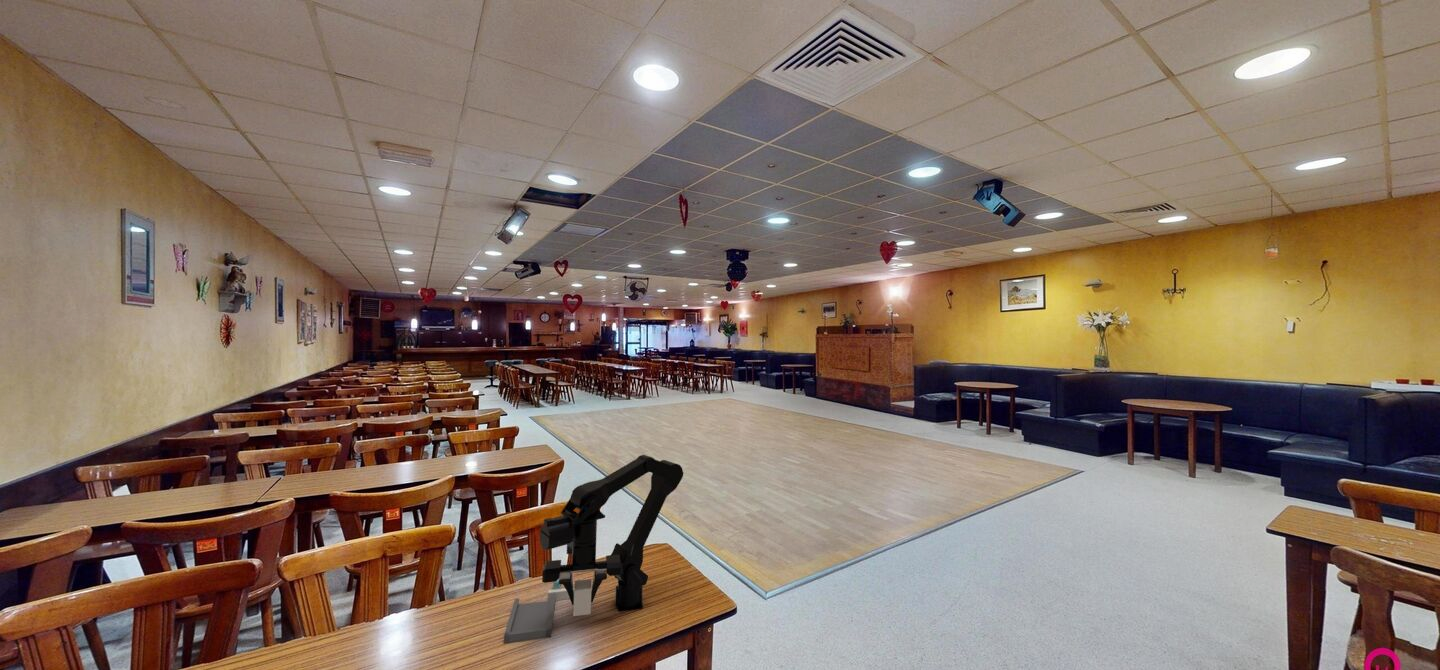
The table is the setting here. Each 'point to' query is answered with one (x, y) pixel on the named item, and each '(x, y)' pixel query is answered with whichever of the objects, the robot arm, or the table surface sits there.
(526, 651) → the table surface
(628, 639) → the table surface
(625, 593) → the robot arm
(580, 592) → the block
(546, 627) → the grey base plate
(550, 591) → the gate
